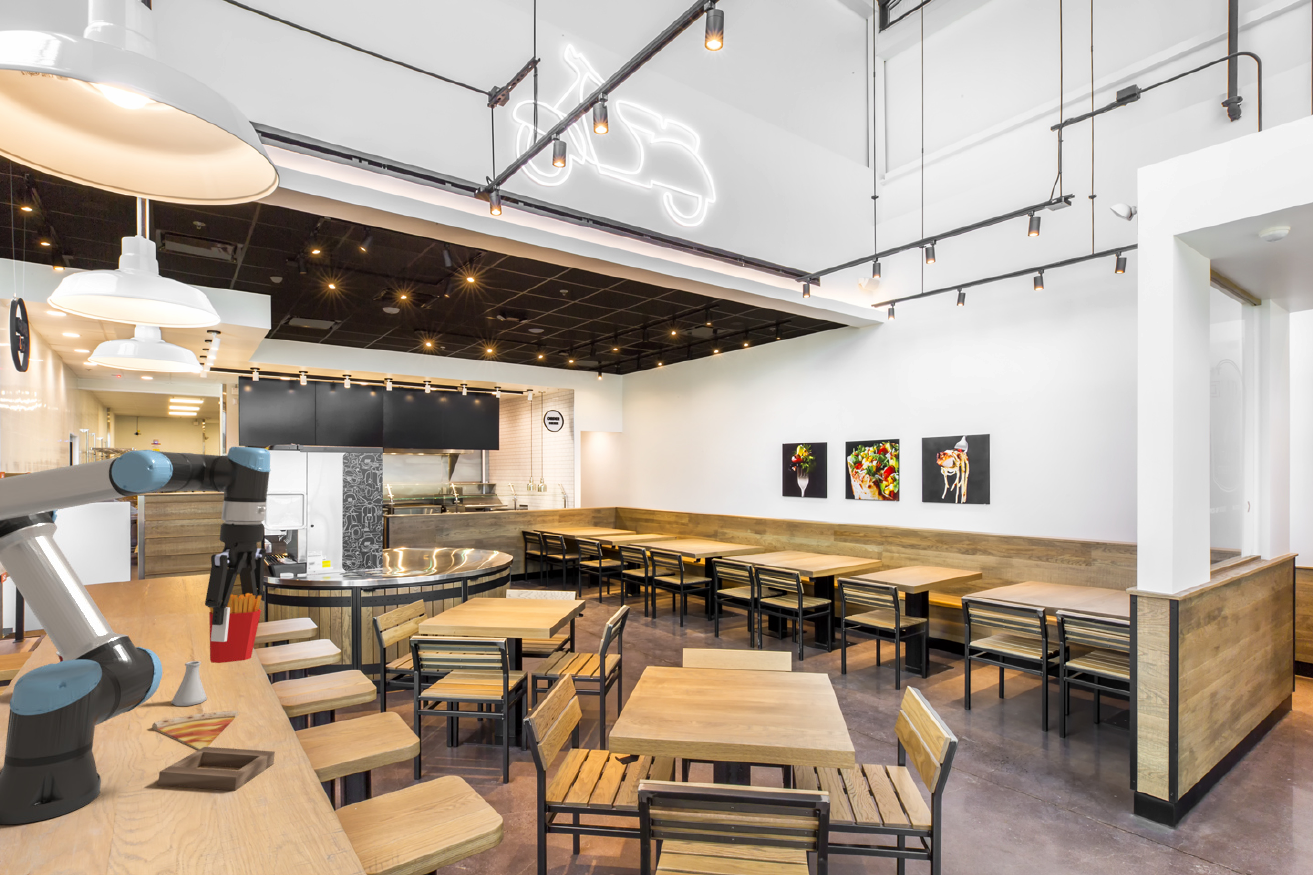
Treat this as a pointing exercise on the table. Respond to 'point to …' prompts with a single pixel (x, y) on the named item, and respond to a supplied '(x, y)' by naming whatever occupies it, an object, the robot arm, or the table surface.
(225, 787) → the fry holder
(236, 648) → the french fries
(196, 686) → the flask
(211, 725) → the pizza slice
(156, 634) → the table surface
